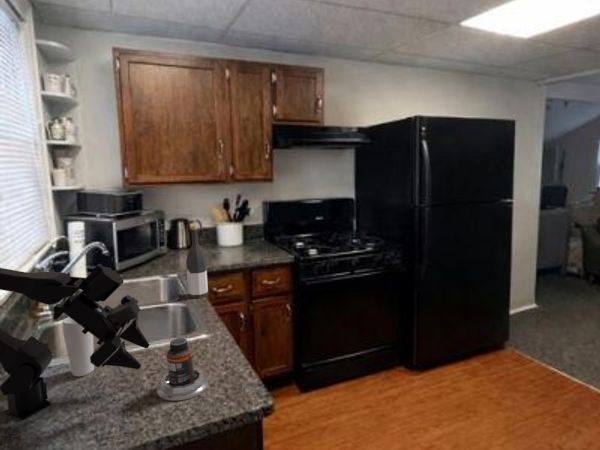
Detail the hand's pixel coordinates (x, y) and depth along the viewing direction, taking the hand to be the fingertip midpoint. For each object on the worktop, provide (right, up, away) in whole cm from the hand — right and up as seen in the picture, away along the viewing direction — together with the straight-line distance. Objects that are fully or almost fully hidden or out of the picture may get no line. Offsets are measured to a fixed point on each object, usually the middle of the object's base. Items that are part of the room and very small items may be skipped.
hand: (144, 356), depth 92 cm
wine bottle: (-6, +1, +73) cm, 73 cm away
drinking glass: (-21, -8, +11) cm, 25 cm away
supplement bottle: (+8, -8, +3) cm, 12 cm away
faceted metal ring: (+8, -8, +3) cm, 12 cm away
